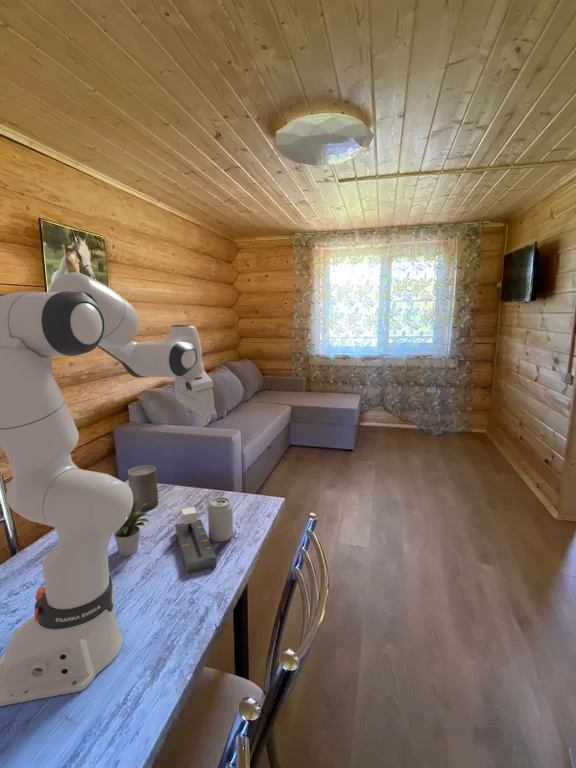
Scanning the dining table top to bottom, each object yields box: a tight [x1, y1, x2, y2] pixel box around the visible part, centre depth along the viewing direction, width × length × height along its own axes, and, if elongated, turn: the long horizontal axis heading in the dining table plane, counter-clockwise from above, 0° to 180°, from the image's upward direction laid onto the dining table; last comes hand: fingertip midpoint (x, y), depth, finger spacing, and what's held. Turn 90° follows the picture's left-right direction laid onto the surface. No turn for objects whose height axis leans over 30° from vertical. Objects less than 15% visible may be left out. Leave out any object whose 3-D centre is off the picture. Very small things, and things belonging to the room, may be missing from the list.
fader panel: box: [174, 518, 217, 575], centre depth 113 cm, size 8×22×3 cm, turn 24°
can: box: [207, 496, 234, 543], centre depth 119 cm, size 8×8×12 cm
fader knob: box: [181, 506, 198, 527], centre depth 120 cm, size 4×4×5 cm
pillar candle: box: [127, 464, 159, 512], centre depth 139 cm, size 10×10×15 cm
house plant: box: [113, 495, 151, 557], centre depth 110 cm, size 14×14×16 cm
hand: (196, 420), depth 118 cm, fingers open, 8 cm apart
